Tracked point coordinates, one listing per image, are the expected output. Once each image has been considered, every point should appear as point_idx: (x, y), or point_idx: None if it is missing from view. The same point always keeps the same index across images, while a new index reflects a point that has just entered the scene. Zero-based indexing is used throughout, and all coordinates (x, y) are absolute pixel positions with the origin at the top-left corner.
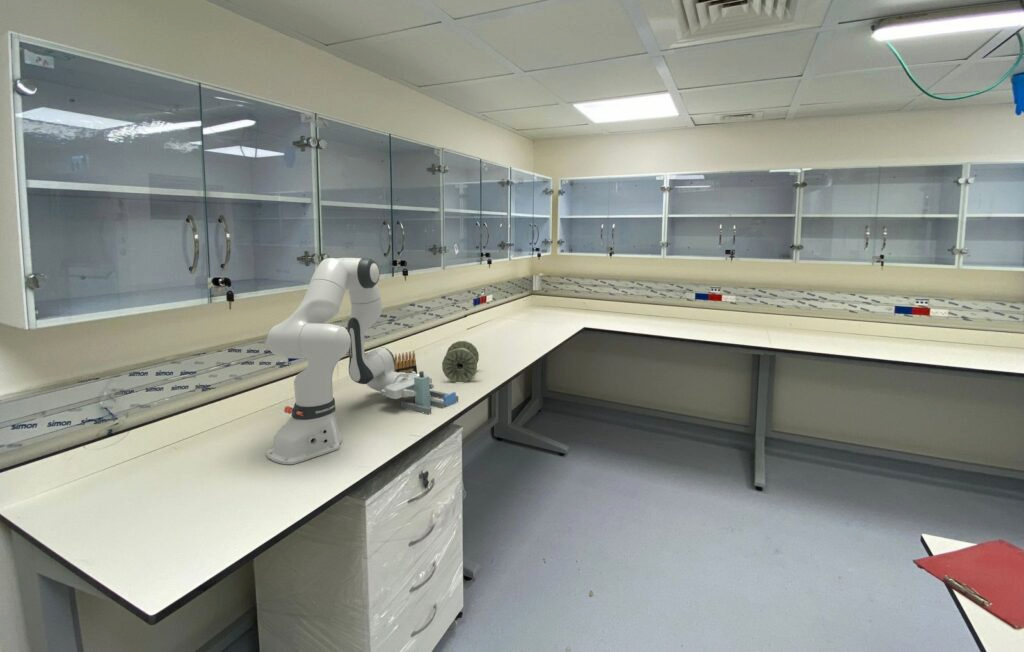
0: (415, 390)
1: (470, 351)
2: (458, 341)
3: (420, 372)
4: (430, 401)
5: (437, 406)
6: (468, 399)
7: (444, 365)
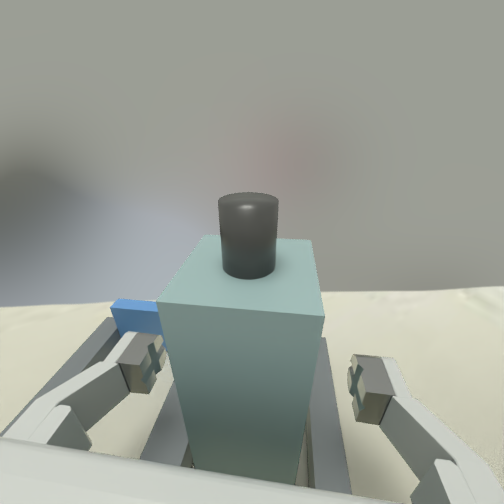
0: (356, 356)
1: None
2: None
3: (276, 199)
4: None
5: None
6: (92, 314)
7: None
